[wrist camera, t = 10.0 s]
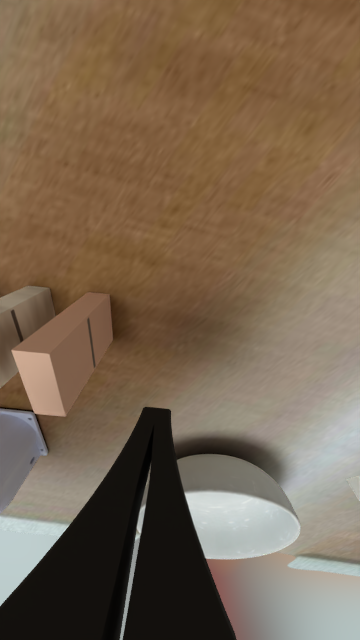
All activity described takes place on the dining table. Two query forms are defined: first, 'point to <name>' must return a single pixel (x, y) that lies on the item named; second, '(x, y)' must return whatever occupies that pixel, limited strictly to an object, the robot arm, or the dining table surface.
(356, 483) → the milk
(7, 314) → the domino
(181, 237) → the dining table surface
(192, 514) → the serving bowl
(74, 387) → the head domino
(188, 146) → the dining table surface
